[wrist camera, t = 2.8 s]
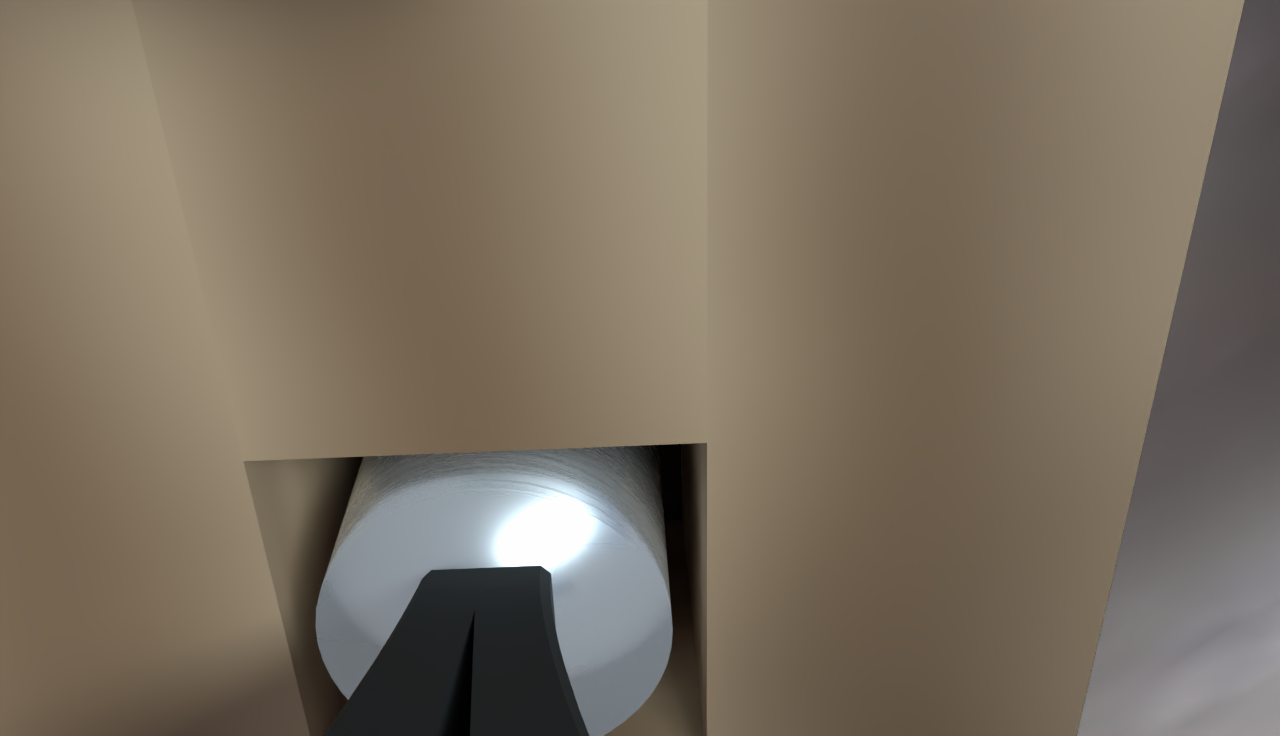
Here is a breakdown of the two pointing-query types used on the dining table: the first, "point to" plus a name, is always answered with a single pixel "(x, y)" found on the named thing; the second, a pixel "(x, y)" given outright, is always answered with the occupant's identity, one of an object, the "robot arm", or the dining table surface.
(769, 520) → the socket block
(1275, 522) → the dining table surface
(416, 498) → the peg round
